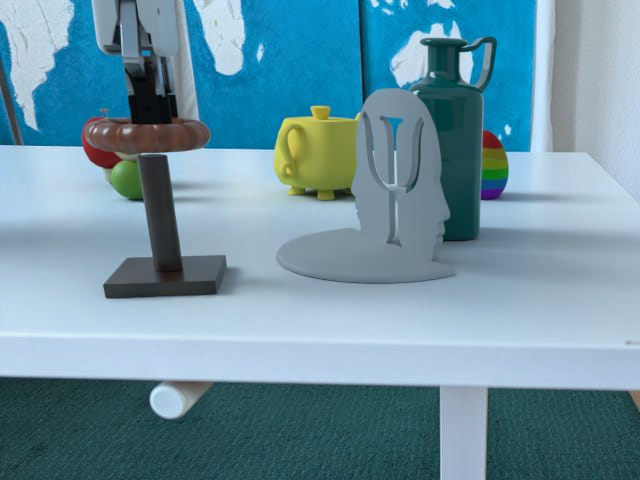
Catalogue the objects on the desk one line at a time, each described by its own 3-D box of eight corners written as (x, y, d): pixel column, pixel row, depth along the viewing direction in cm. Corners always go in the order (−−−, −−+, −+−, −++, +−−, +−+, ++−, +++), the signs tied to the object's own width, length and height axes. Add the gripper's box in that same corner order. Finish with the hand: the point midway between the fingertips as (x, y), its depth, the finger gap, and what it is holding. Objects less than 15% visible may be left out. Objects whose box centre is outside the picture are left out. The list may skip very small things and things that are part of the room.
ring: (73, 154, 55) (67, 125, 54) (105, 141, 64) (101, 115, 63) (202, 154, 57) (199, 126, 56) (217, 141, 66) (214, 117, 65)
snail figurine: (133, 193, 104) (119, 107, 100) (164, 198, 102) (151, 110, 97) (101, 199, 100) (84, 109, 95) (132, 203, 97) (117, 112, 93)
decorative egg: (451, 199, 108) (452, 130, 104) (459, 190, 115) (460, 126, 111) (505, 202, 107) (508, 133, 103) (509, 193, 114) (512, 128, 110)
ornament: (458, 274, 70) (461, 94, 63) (336, 296, 62) (326, 93, 56) (351, 231, 86) (345, 83, 79) (244, 245, 78) (227, 82, 71)
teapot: (251, 195, 106) (242, 105, 101) (342, 180, 122) (338, 101, 117) (318, 206, 99) (312, 110, 94) (405, 189, 115) (404, 106, 110)
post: (105, 298, 60) (79, 162, 56) (129, 269, 68) (108, 149, 64) (216, 293, 62) (200, 162, 57) (227, 266, 70) (213, 149, 66)
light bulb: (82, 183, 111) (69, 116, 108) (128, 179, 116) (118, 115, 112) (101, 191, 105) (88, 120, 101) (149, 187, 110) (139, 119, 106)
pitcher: (409, 241, 82) (408, 32, 73) (405, 225, 89) (403, 35, 81) (492, 240, 83) (500, 36, 75) (481, 225, 91) (487, 38, 82)
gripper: (100, -83, 63) (134, 133, 70) (38, -124, 48) (88, 153, 56) (189, -76, 64) (213, 134, 72) (155, -115, 50) (190, 153, 57)
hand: (158, 140), depth 64 cm, fingers closed on ring, 2 cm apart
